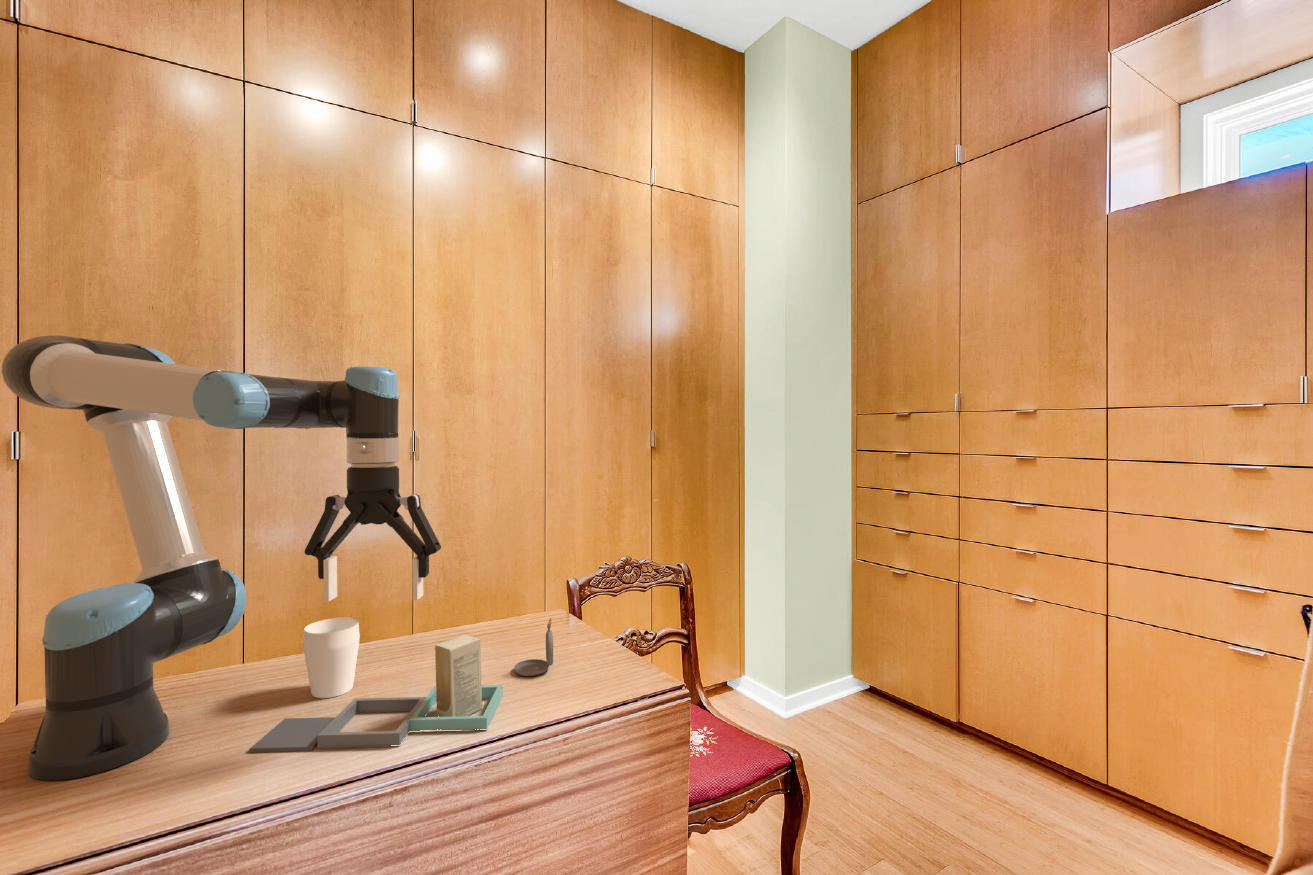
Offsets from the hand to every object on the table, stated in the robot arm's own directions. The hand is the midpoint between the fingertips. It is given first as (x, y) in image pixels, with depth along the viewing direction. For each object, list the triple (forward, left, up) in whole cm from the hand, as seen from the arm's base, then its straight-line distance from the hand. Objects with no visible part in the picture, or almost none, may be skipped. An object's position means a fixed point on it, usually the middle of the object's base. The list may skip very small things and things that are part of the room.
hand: (374, 598), depth 94 cm
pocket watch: (+23, +21, -21) cm, 37 cm away
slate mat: (-11, -2, -21) cm, 24 cm away
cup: (-13, +14, -21) cm, 29 cm away
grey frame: (0, 0, -21) cm, 21 cm away
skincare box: (+12, +4, -21) cm, 24 cm away
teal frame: (+12, +4, -21) cm, 24 cm away
